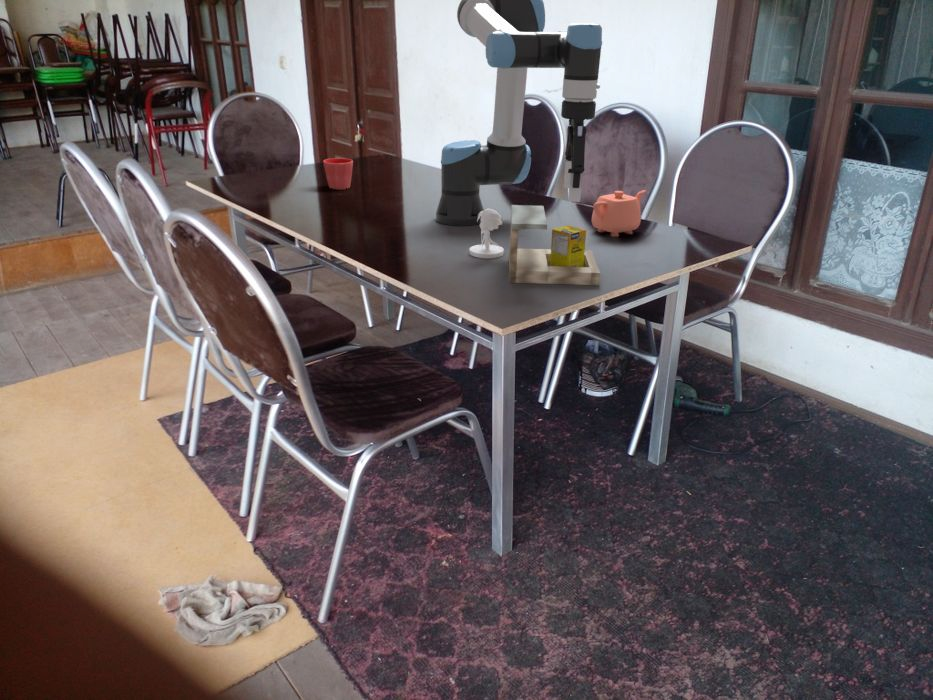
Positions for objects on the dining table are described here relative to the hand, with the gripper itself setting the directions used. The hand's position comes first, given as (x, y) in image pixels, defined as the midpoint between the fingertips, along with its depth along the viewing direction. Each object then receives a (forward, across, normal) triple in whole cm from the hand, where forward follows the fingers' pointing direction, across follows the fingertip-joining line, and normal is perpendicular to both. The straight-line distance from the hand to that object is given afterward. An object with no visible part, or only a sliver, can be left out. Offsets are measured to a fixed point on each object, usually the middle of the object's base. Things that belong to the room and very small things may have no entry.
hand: (571, 194), depth 166 cm
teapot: (+20, +39, -18) cm, 47 cm away
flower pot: (+21, +90, +76) cm, 120 cm away
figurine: (+20, +14, +20) cm, 31 cm away
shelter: (+19, 0, +3) cm, 19 cm away
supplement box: (+19, -1, 0) cm, 19 cm away
